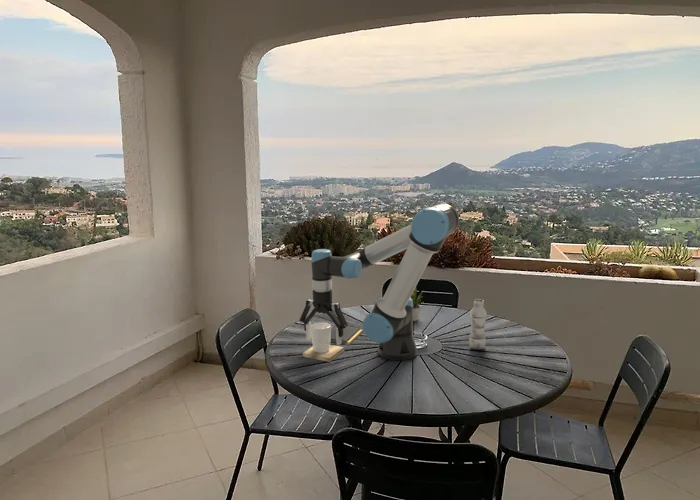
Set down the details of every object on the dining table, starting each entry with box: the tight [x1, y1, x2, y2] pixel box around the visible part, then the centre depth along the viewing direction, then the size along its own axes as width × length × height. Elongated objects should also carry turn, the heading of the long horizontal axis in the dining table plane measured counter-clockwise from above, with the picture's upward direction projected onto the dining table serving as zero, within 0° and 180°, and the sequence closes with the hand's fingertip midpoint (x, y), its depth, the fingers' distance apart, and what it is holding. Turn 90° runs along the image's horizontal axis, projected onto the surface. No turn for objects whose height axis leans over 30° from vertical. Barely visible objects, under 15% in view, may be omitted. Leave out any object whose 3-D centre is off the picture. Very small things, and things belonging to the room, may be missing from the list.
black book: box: [330, 325, 365, 346], centre depth 230 cm, size 20×2×15 cm
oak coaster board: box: [302, 344, 345, 363], centre depth 210 cm, size 12×12×2 cm
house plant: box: [410, 287, 424, 322], centre depth 249 cm, size 14×14×16 cm
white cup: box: [311, 321, 332, 353], centre depth 210 cm, size 8×8×10 cm
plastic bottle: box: [468, 298, 488, 351], centre depth 212 cm, size 6×7×20 cm
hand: (323, 341), depth 210 cm, fingers open, 13 cm apart
